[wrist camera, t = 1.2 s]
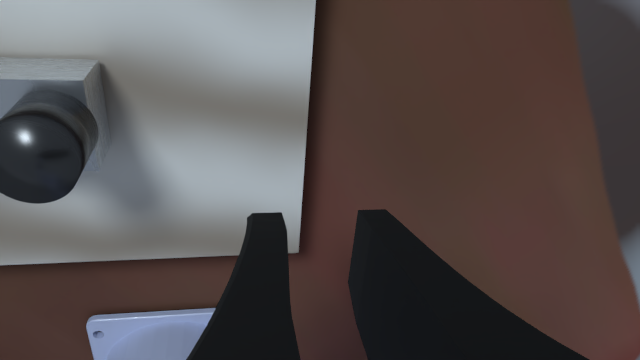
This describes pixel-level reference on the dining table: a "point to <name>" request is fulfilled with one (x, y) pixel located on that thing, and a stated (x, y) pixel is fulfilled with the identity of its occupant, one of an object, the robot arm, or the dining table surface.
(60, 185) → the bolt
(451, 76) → the dining table surface
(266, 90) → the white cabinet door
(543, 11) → the dining table surface
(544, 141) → the dining table surface
